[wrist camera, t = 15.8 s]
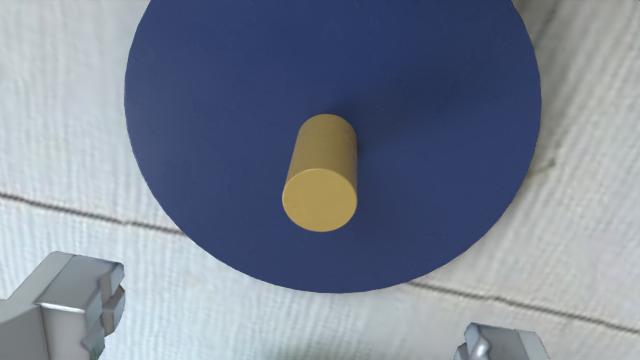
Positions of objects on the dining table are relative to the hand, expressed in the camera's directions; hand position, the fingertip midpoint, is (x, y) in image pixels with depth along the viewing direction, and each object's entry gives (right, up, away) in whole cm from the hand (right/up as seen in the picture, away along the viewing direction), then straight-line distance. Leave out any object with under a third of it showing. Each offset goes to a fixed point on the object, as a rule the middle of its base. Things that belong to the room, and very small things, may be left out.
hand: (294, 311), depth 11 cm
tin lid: (+1, +5, +8) cm, 10 cm away
